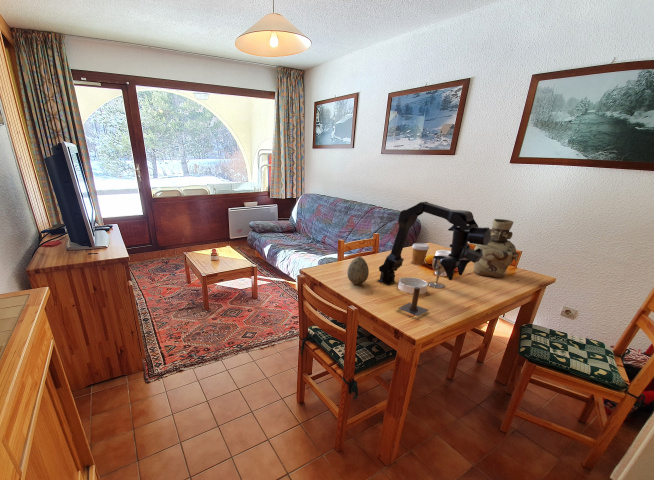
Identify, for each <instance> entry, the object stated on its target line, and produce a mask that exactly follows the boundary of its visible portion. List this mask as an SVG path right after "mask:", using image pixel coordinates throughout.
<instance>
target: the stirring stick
mask: <svg viewBox="0 0 654 480" xmlns="http://www.w3.org/2000/svg"><path fill="white" fill-rule="evenodd" d="M419 292H420V288H419V287H415V288H414V294H412V295H413V296H412V299H411V306H409V309H410V310H412V311H418V307H417V306H418V303H419V298H420V297H419V296H420V294H419Z"/></svg>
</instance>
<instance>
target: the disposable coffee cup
mask: <svg viewBox="0 0 654 480" xmlns="http://www.w3.org/2000/svg"><path fill="white" fill-rule="evenodd" d="M411 247H412V257H411V264H412V265H415V266H416V265H417V266H422V265H424V262H425V259H426V256H427V254H428V251H429V249H430V246H429V244H427V243H423V242H415V243H413V244H412V245H411Z"/></svg>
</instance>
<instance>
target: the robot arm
mask: <svg viewBox="0 0 654 480" xmlns="http://www.w3.org/2000/svg"><path fill="white" fill-rule="evenodd" d="M423 213H426V214H429V215H432V216H435V217H439V218H441V219H444V220H446V221H447V222H448V223H449V224H451V227H449V228H448V229H447V231H450V232H452V238H451V239H452V240H451V243H450V244H449V248H451V249H450V251H451V253H450V254H449V257H444V258H442V259H441V260H440V264H441V265H442V266H443V268H444V270H445V272H446V274H447V276H446V277H447V279H448V280H449V281H453V278H454V274H455V271H456V269H457V273H458V276H463V274H464V272H465V270H466V267H467V266H468V264H469V263H473V264H474V263H476V262H477V261H479V260H480V258H481V257H483V253H482V249H480V248H478V249H476V250H474V249H475V248H471V245H477V244H479V245H487V244H488V243H489V242H490V239H491V234H490V231H489V229H490V227H487V226H486V227H481V226H479V225H478V223H477V222H476V220H475V219H474V214H473V212H472V211H470V210H463V209H450V208H447V207H444V206H441V205H438V204H434V203H430V202H428V201H421V202H418V203H417V204H415V205H412V206H411V207H408V208H407V209H403V210H401V211H399V214H398V218H397V219H398V220H397V223H398V229H397V232H396V235H395V239H394V242H393V245H392V248H391V251H390V253H389V254H388V255H387V256H386V257H385V260H384V262H383V264H381V265H380V266H379V267H378V270H379V272H380V276H379V277H380V278H379V279H377V281H378V282H380V283H383V284H385V285H387V286H388V285H391V284H393V283H395V282H396V272H397V271H398V269H399V268H401V267H402V266H403V262H404V260H405V259H404V258H402V252H403V250H404V247H405V244H406V240H407V237H408V235H409V231H410V229H411V227H413V226H414V225H415V223H416V221H417V219H418V217H419V216H421V215H422V214H423ZM470 244H471V245H470Z"/></svg>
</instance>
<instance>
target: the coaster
mask: <svg viewBox="0 0 654 480" xmlns="http://www.w3.org/2000/svg"><path fill="white" fill-rule="evenodd" d="M411 304H412V302H408V303H406V304H403V305H402V306H401V307H398V310H401V311H403V312H406V313H408V314H411V315H413V316H415V317H420V316H421V315H423V314H424V313H426V312H428V311H429V309H427V308H424V307H422V306H419V305H417V307H418V311H412V310H410V309H409V306H411Z"/></svg>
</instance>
